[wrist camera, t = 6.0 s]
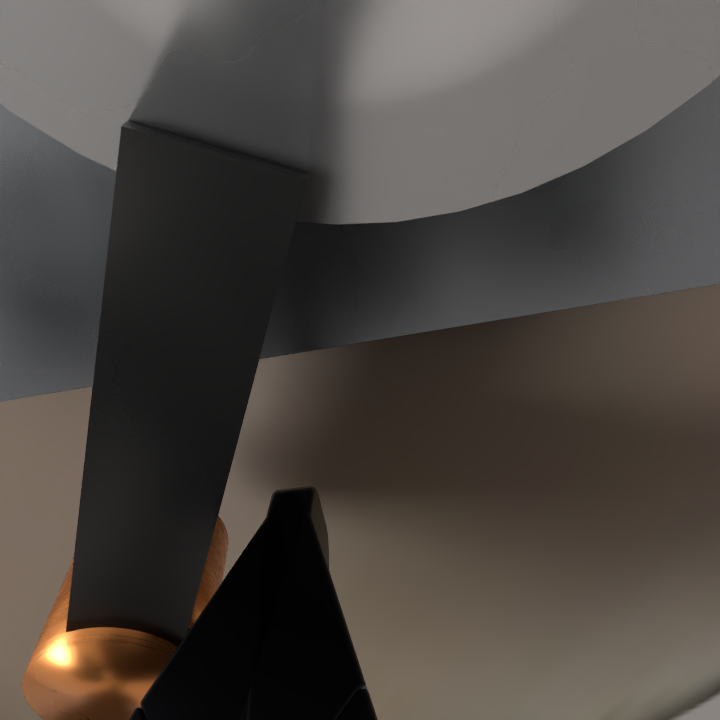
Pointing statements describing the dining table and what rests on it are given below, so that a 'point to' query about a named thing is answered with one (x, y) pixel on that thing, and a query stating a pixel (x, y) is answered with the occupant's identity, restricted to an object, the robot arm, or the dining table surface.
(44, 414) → the dining table surface
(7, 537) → the dining table surface
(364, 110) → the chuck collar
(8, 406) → the dining table surface
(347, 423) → the dining table surface
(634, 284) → the chuck base
